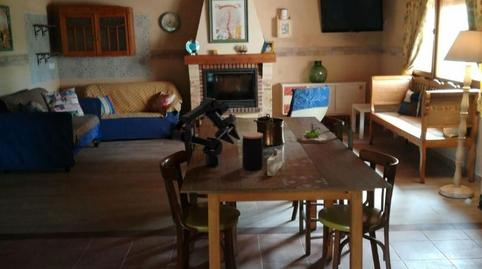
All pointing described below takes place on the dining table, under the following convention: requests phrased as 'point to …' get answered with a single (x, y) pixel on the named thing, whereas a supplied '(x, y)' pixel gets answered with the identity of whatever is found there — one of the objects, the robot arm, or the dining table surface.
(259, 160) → the coffee jar
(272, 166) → the bench stop
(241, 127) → the dining table surface
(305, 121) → the dining table surface
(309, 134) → the plant
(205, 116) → the robot arm
